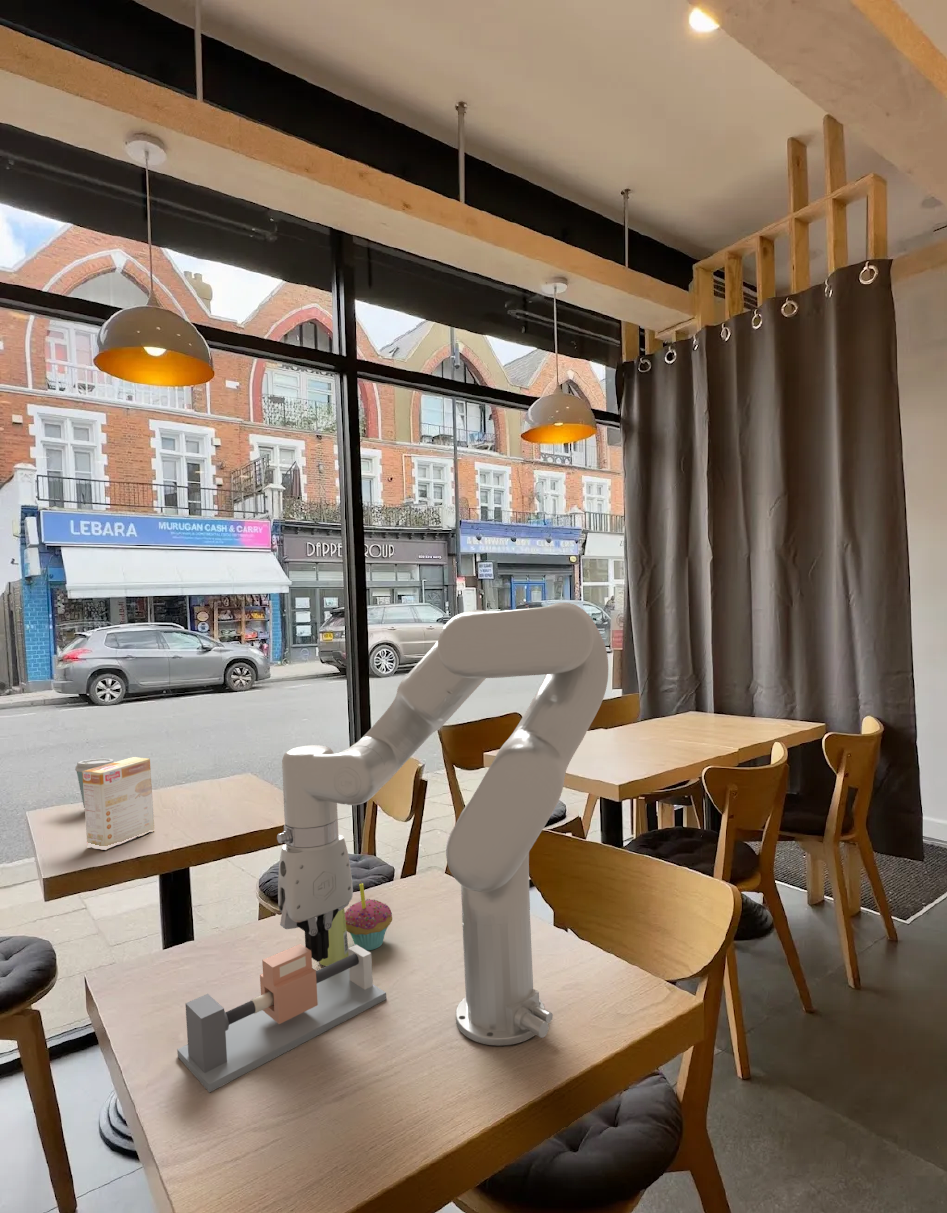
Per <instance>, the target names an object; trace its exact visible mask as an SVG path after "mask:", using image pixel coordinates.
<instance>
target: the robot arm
mask: <svg viewBox="0 0 947 1213" xmlns="http://www.w3.org/2000/svg"><path fill="white" fill-rule="evenodd" d="M542 675H544V678H543V679H542V682H541V684H540V686H539V688H538V689H537V691H536V693H535V694H534V696H533V698H532V700H531V701H530V704H529V706H528V708H527V709H526V711H525V713H524V714H523V716H522V717H521V719H520V721H519V723H518V724H517V725H516V727H515V728H514V730H513V732H512V733H511V735H510V736H509V737H508V739H507V740H505V742H504V743H503V744H502V745H501V747H500V749H499V750H498V751H497V753H496V755H495V757H494V759H493V760H492V762H491V764H490V765H489V768H488V769H487V771H486V772H485V775H484V776H483V777H482V780H481V782H480V783H479V785H478V787H477V788H476V790H475V792H474V793H473V795H472V797H471V798H470V800H469V802H467V804H466V805H465V807H464V808H463V809H462V811H461V812H460V814H459V817H458V818H457V820H456V822H455V824H454V827H453V828H452V830H451V832H450V833H449V836H448V839H447V842H446V847H445V848H446V850H445V855H446V856H445V857H446V862H447V867H448V869H449V871H450V873H451V875H452V876H453V878H454V879H455V880H456V881H457V882H458V883H459V884H460V893H461V896H460V897H461V919H462V920H461V923H462V924H461V925H462V939H463V941H462V942H463V962H464V963H463V964H464V984H465V997H463V999H461V1000H460V1002H459V1003H458V1005H457V1006H456V1009H455V1022H456V1023H455V1024H456V1027H457V1028H458V1029H459V1030H458V1031H460V1032H461V1033H462V1034H463V1035H464V1036H465V1037H467V1038H468V1039H470V1040H472V1041H474V1042H476V1043H479V1044H482V1045H489V1046H496V1047H497V1046H498V1047H499V1046H501V1047H502V1046H510V1045H515V1044H516V1045H517V1044H520V1043H522V1042H525V1041H528V1040H530V1039H532V1038H533V1037H534V1036H538V1037H539V1038H542V1039H543V1038H545V1037H546V1036H547V1035H548V1032H549V1024H550V1023H551V1022H552V1020H553V1016H554V1015H553V1013H552V1012H551V1011H549V1010H547V1009H546V1008H545V1004H544V1003H543V1001H542V1000H541V999H540V991H538V990H536V989H535V988H534V976H533V975H534V974H533V953H532V952H533V951H532V933H531V931H532V930H531V928H532V927H531V912H530V911H531V902H530V901H531V899H530V898H531V897H530V865H529V864H530V851H531V849H532V848H533V846H534V845H535V843H536V842H537V840H538V838H539V836H540V834H541V833H542V831H543V829H544V828H545V826H546V825H547V823H548V821H549V820H550V818H551V817H552V815H553V813H554V811H555V809H556V807H557V805H558V804H559V801H560V798H561V795H562V793H563V790H564V784H565V778H566V773H567V769H568V766H569V765H570V762H571V760H572V758H573V757H574V755H575V754H576V752H577V750H578V748H579V746H580V745H581V743H582V742H583V740H584V738H585V736H586V734H587V732H588V730H589V729H590V727H591V725H592V723H593V721H594V719H595V717H596V716H597V713H598V711H599V710H600V707H601V705H602V702H603V700H604V698H605V695H606V692H607V691H606V690H607V686H608V680H609V656H608V652H607V648H606V644H605V642H604V639H603V636H602V634H601V633H600V630H599V629H598V627H597V625H596V624H595V622H594V621H593V618H592V617H591V616H590V615H589V613H588V612H586V611H585V610H584V609H583V608H581V607H580V606H578V605H576V604H574V603H571V602H557V603H556V602H555V603H553V604H550V605H548V606H547V605H546V606H539V607H530V608H529V607H528V608H518V609H510V610H509V609H508V610H495V611H488V610H484V609H472V610H468V611H463V612H461V613H458V614H455V616H453V617H451V618H450V619H449V620H448V621H447V622H446V623H445V624H444V625H443V627H442V629H441V631H440V632H439V635H438V640H437V641H436V642H435V643H434V645H433V646H432V647H431V648H430V649H429V650H428V652H427V653H426V654H425V655H424V656H423V657H422V658H420V660H419V661H418V662H417V664H415V666H414V667H413V668H411V670H410V671H409V672H408V673H407V674H406V675H405V677H403V678H402V680H401V682H400V683H399V685H398V686H397V690H396V695H395V697H394V699H393V701H392V703H391V704H390V705H389V706H388V708H387V710H385V712H384V713H382V715H381V717H379V719H378V720H377V721H376V722H375V723H374V724H373V726H371V728H370V729H369V730H368V731H367V732H366V733H365V734H364V735H363V736H362V737H361V738H360V739H359V740H358V741H357V742H355V743H353V744H352V745H351V746H350V747H348V748H346V749H344V750H342V751H340V752H337V753H334V751H333V749H331V747H328V746H325V745H321V744H320V745H319V744H309V745H307V744H306V745H301V746H297V747H293V748H291V749H289V750H287V751H286V752H285V753H284V754H283V756H282V759H281V770H282V771H281V773H282V790H283V793H282V795H283V796H282V797H283V809H284V810H283V811H284V816H283V817H284V824H283V831H282V832H281V833H278V834H277V835H276V840H277V842H278V844H283V843H284V844H283V845H282V847H281V852H280V856H279V857H280V858H279V864H278V876H277V900H278V910H279V912H280V914H281V917H280V922H279V923H280V924H279V925H280V926H281V928H283V929H285V930H290V929H291V930H292V929H297V928H299V929H301V930H302V931H304V941H305V942H304V944H305V945H304V946H305V947H306V948H308V949H309V950H311V956H312V960H314V961H316V963H317V962H318V963H319V961H321V960H322V959H326V958H328V948H329V932H328V930H329V929H330V928H331V927H332V921H333V919H334V918H335V916H336V914H337V913H338V911H341V910H342V909H343V908H344V909H345V908H346V907H348V906H349V904H350V902H351V901H352V900H353V895H354V893H353V892H354V889H353V878H352V877H353V876H352V869H351V861H350V857H349V852H348V848H347V843H346V841H345V837H344V835H342V834H339V816H338V804H340V805H345V806H359V805H362V804H364V803H367V802H369V801H370V800H371V799H372V798H373V797H374V796H376V794H377V793H379V791H380V790H381V789H382V788H383V787H384V786H385V785H386V784H387V783H388V782H389V781H390V780H391V779H393V777H394V776H395V774H397V773H398V771H400V769H401V768H402V767H403V766H404V765H405V763H407V761H408V760H409V759H410V758H412V756H413V755H414V754H415V753H416V752H417V750H418V749H419V748H420V747H421V746H422V745H423V744H424V743H425V742H426V741H427V740H428V738H429V737H430V736H431V735H432V734H434V733H435V732H436V731H438V730H440V729H441V728H442V727H443V726H444V725H445V724H446V723H447V721H449V720H450V719H451V717H452V716H453V715H454V714H455V713H456V712H457V710H459V708H460V707H461V706H462V705H463V704H464V703H465V702H466V701H467V699H469V697H470V696H471V695H473V693H474V692H475V691H476V690H477V689H478V688H479V687H480V685H482V684H483V682H484V681H486V679H500V678H501V679H502V678H513V677H514V678H515V677H527V676H542Z"/></svg>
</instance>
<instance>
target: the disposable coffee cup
mask: <svg viewBox="0 0 947 1213" xmlns="http://www.w3.org/2000/svg"><path fill="white" fill-rule="evenodd" d="M114 762H116V761H115V760H114V759H113V758H91V759H85V760H80V761H78V762H77V765H76V766H75V769H74V770H75V771H76V775H77V780H78V785H79V790H80V796H81V800H82V804H83V809H84V808H85V804H84V791H83V776H82V771H85V770H89V769H92V768H96V767H99V766H103V765H106V764H110V763H114Z"/></svg>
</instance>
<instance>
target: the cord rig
mask: <svg viewBox="0 0 947 1213" xmlns="http://www.w3.org/2000/svg"><path fill="white" fill-rule="evenodd" d="M372 961H373V960H372V952H370V951H369V950H368V951H367V950H365V949H363V948H361V947H360V946H358V945H355V944H354V945H352V946H349V947H348V957H346V958H343V959H341V960H339V961H337V962H335V963H333V964H330V965H328V966H324V967H322V968H320V969H318V970H316V982H317V1001H318V1005H317V1006H315V1007H313V1008H311V1009H309V1010H307V1011H305V1012H303V1013H301V1014H299V1015H297V1016H295V1017H293V1018H291V1019H289V1020H287V1021H285V1022H283V1023H281V1024H278V1023H277V1022H276V1021H275V1020H274V1019H272V1018H271V1017H270V1016H269V1015H268V1014H266V1013H265V1012H264V1011H263V1010H264V1009H266V1008H268V1007H270V1006H272V1005H274V995H273V993H272V992H271V991H269V992H267V993H265V994H263V995H261V994H260V995H258V996H257V997H254V998H252V999H250V1000H249V1001H247V1002H245V1003H243V1004H241V1005H238V1006H236V1007H234V1008H231V1009H229V1010H227V1011H225V1008H224V1006H222V1005H221V1004H220V1003H219V1002H218V1001H216V999H214V997H212V996H211V995H210V994H209V993H206V994H203V995H202V996H200V997H197V998H194V999H192V1000H190V1001H188V1002H185V1015H186V1016H185V1018H186V1033H187V1044H185V1045H183V1046H181V1047H179V1048H177V1049H176V1050H177V1057H178V1059H179V1061H181V1062H182V1063H183V1064H184V1066H186V1068H187V1069H188V1071H190V1072H191V1074H192V1075H193V1076H194V1077H195V1078H196V1079H197V1080H198V1081H199V1083H200V1084H201V1085H202V1086H203V1087H204V1088H205V1089H206V1090H207V1092H208V1093H211V1092H213V1091H215V1090H217V1089H219V1088H220V1087H222V1086H224V1085H226V1084H228V1083H230V1082H232V1081H234V1080H236V1079H238V1078H239V1077H242V1076H243V1075H245V1074H247V1073H250V1072H251V1071H252V1070H255V1069H256V1068H258V1067H260V1066H262V1065H264V1064H266V1063H268V1062H270V1061H272V1060H274V1059H276V1058H278V1057H280V1056H281V1055H283V1054H285V1053H287V1052H288V1051H290V1050H292V1049H293V1050H294V1049H295V1048H296V1047H299V1046H300V1045H302V1044H304V1043H306V1042H308V1041H310V1040H312V1039H314V1038H316V1037H317V1036H319V1035H321V1034H323V1033H325V1032H327V1031H328V1030H330V1029H333V1028H335V1027H337V1026H338V1025H340V1024H342V1023H344V1022H346V1021H349V1020H350V1019H351V1018H353V1017H355V1016H357V1015H359V1014H361V1013H364V1012H365V1011H367V1010H369V1009H370V1008H372V1007H374V1006H376V1005H378V1004H380V1003H382V1002H383V1001H385V1000H387V992H386V991H385V990H383V989H381V988H380V987H378V986H377V985H375V984H374V981H373V980H374V978H373V963H372Z"/></svg>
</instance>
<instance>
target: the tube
mask: <svg viewBox="0 0 947 1213" xmlns="http://www.w3.org/2000/svg"><path fill="white" fill-rule="evenodd" d="M345 912H346V910H345V908H343V909H342V910H341V911H338V913H337V914H336V916H335V918H334V919H333V921H332V927H331V928H330V929H329V930H328V932H329V948H328V958H326V959H322V960H321V961H319V962H318V963H319V964H320V965H322V966H324V967H326V966H328V965H330V964H333V963H335V962H337V961H339V960H341V959H343V958H346V957H348V948H349V944H348V943H349V942H348V932H347V930H346V920H345Z"/></svg>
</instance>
